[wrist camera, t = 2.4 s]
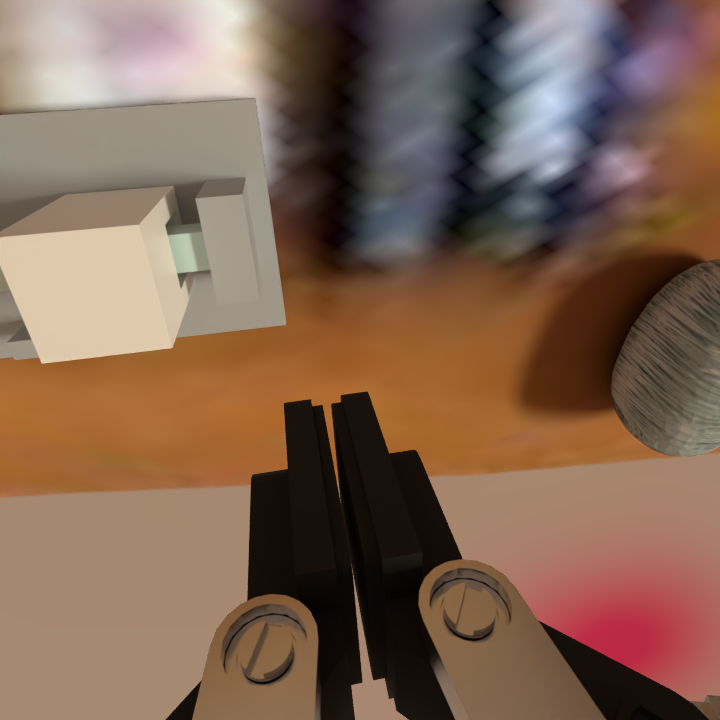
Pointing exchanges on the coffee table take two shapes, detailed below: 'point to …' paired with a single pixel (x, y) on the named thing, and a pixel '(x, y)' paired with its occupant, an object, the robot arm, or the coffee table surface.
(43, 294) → the sleeve
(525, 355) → the coffee table surface
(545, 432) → the coffee table surface
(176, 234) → the pale green crossbeam
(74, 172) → the grey support base
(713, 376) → the streaked grey egg
